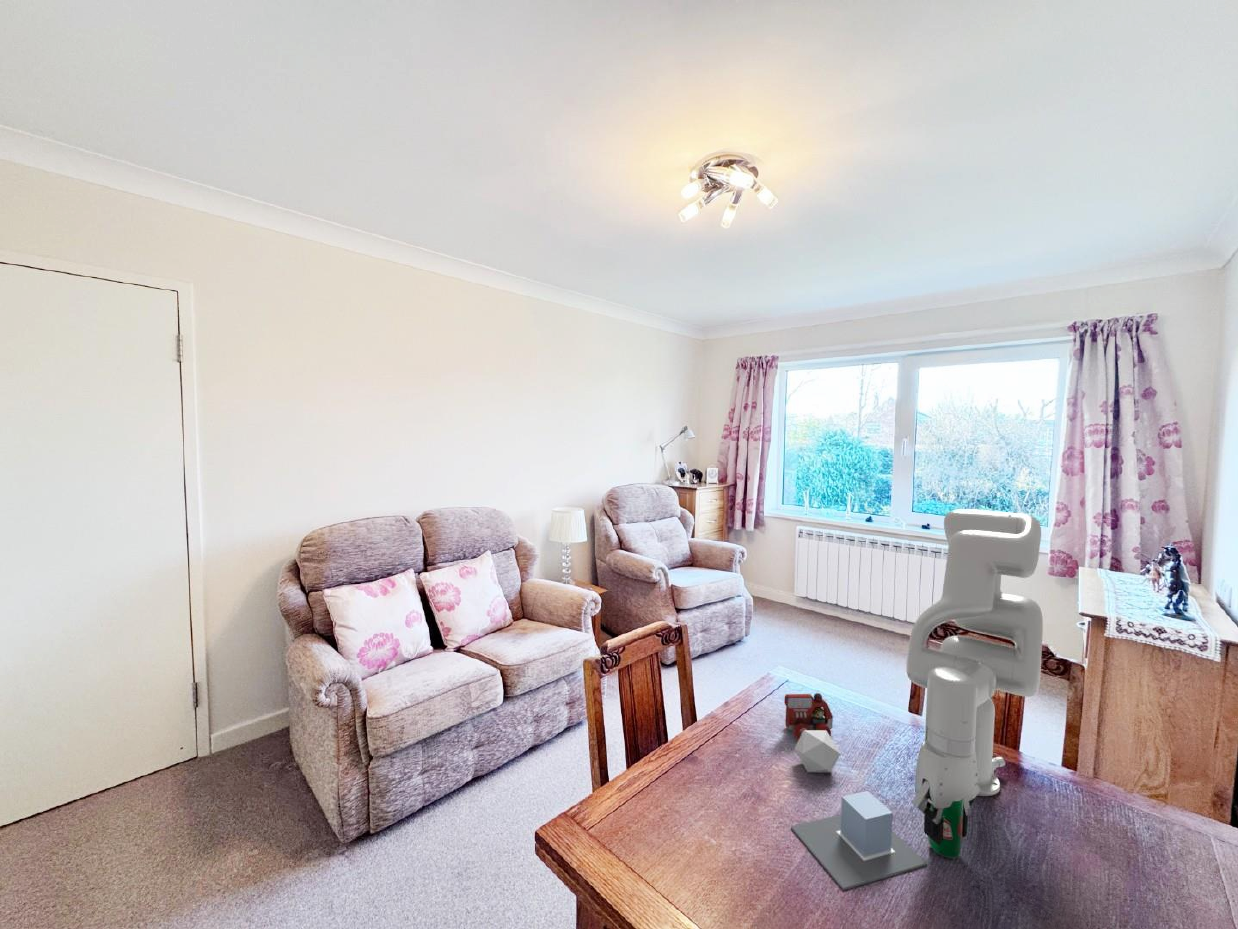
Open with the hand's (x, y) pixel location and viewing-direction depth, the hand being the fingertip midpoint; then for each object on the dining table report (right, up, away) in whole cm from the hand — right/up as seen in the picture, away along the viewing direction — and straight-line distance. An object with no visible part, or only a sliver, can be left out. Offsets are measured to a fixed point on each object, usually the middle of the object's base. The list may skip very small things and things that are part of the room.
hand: (945, 834), depth 93 cm
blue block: (-14, -3, +2) cm, 14 cm away
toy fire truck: (-11, -2, +37) cm, 39 cm away
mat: (-16, -3, +1) cm, 16 cm away
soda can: (0, -3, 0) cm, 3 cm away
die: (-14, -2, +24) cm, 28 cm away
